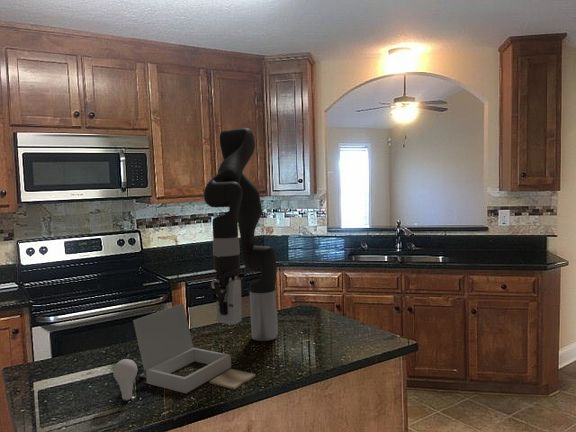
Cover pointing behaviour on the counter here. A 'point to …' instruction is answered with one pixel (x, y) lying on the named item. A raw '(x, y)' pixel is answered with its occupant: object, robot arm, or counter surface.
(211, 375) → the case
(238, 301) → the skincare box
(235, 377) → the mat
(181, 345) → the lid
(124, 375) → the lightbulb
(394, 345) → the counter surface
